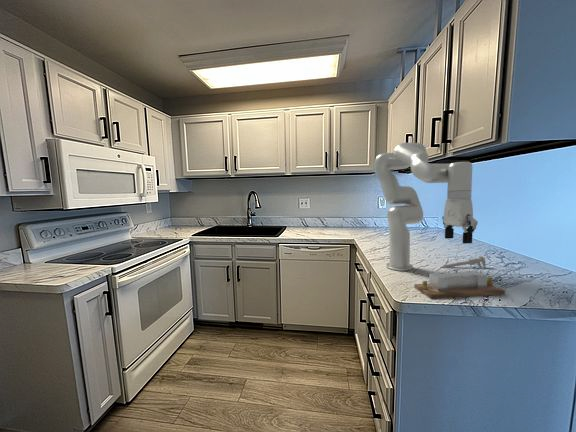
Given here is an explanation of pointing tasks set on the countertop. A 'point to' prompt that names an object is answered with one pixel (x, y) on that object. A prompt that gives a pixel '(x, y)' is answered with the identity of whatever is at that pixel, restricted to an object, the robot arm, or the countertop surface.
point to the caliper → (468, 262)
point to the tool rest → (459, 291)
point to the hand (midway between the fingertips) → (457, 240)
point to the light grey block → (457, 280)
